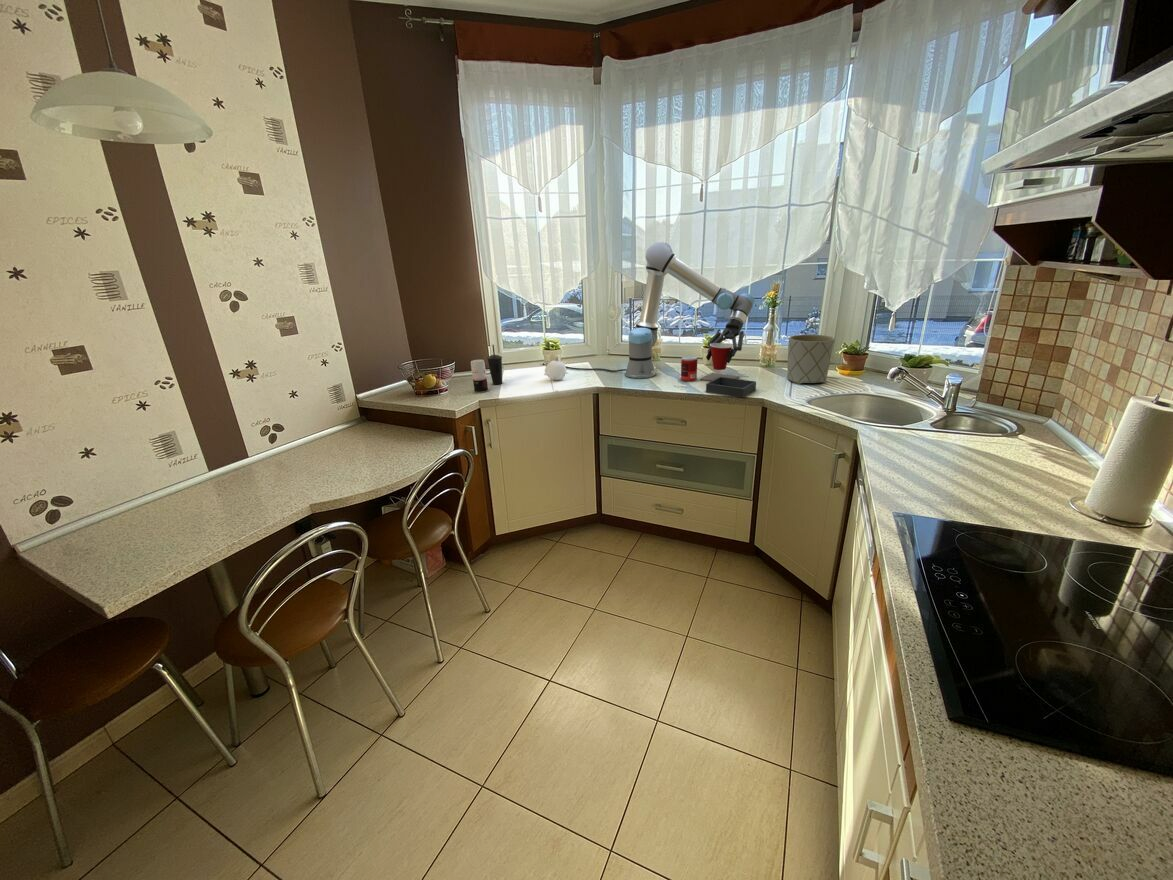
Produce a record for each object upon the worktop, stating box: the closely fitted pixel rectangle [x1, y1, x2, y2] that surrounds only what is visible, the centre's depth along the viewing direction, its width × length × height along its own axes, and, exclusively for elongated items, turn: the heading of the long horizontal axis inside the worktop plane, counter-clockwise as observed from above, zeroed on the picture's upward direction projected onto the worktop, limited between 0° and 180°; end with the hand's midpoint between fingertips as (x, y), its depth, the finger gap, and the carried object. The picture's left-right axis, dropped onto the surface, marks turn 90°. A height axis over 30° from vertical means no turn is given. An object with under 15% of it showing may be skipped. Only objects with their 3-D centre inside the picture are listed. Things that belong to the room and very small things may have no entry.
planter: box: [786, 334, 836, 385], centre depth 220 cm, size 19×19×20 cm
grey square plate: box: [699, 372, 740, 382], centre depth 235 cm, size 14×14×1 cm
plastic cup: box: [710, 342, 733, 371], centre depth 231 cm, size 11×11×12 cm
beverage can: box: [470, 359, 489, 394], centre depth 231 cm, size 7×7×15 cm
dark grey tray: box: [705, 377, 757, 399], centre depth 213 cm, size 17×14×4 cm
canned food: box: [680, 355, 698, 382], centre depth 234 cm, size 8×8×11 cm
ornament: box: [545, 356, 567, 381], centre depth 245 cm, size 10×10×12 cm
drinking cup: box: [486, 344, 503, 386], centre depth 242 cm, size 8×8×20 cm
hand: (717, 360), depth 229 cm, fingers closed on plastic cup, 10 cm apart
